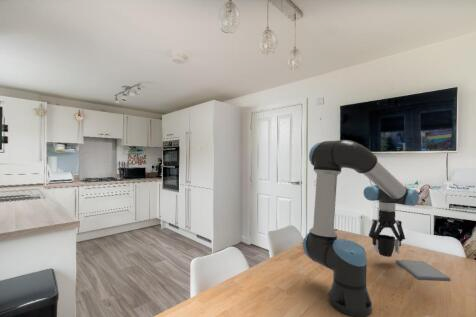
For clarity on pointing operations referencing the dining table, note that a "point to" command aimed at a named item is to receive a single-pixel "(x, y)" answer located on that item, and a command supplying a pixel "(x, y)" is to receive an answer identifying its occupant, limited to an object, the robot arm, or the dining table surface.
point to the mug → (386, 245)
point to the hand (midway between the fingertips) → (386, 251)
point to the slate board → (422, 270)
